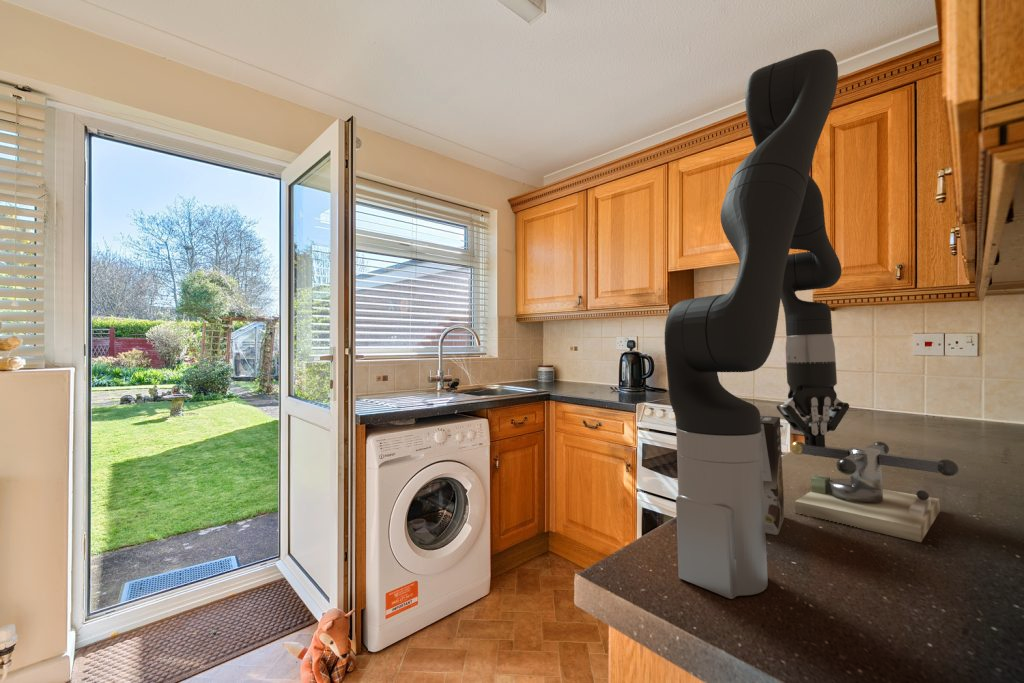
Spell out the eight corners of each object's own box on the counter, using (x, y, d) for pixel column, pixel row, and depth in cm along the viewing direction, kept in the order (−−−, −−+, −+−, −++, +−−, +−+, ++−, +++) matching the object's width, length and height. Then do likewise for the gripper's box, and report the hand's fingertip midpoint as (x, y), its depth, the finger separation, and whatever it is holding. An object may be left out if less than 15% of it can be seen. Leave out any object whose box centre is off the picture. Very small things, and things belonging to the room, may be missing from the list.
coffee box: (780, 536, 62) (775, 423, 62) (730, 526, 66) (726, 420, 66) (786, 517, 69) (781, 416, 70) (741, 509, 73) (737, 413, 74)
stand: (920, 542, 59) (919, 509, 59) (795, 513, 70) (794, 486, 71) (939, 511, 70) (938, 483, 70) (829, 490, 82) (828, 467, 82)
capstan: (971, 499, 69) (968, 449, 69) (949, 535, 55) (945, 474, 56) (813, 472, 86) (811, 433, 86) (767, 495, 72) (765, 448, 73)
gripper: (791, 361, 75) (797, 461, 74) (861, 358, 76) (867, 457, 76) (762, 361, 82) (767, 452, 82) (826, 358, 84) (831, 448, 83)
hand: (815, 454), depth 79 cm, fingers closed
